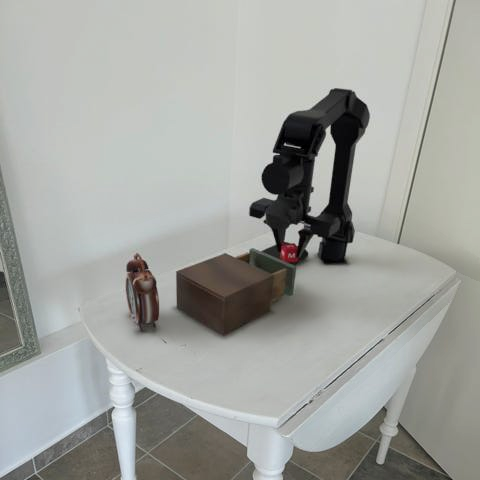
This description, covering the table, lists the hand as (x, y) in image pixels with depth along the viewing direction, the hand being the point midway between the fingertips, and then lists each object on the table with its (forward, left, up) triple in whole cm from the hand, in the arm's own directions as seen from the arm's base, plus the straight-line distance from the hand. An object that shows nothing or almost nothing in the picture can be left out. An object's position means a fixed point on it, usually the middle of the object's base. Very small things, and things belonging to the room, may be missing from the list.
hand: (289, 254), depth 104 cm
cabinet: (+14, +2, -12) cm, 19 cm away
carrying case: (-4, -22, -12) cm, 26 cm away
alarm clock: (+32, +6, -12) cm, 34 cm away
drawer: (+6, -3, -11) cm, 13 cm away
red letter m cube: (0, 0, -1) cm, 1 cm away
